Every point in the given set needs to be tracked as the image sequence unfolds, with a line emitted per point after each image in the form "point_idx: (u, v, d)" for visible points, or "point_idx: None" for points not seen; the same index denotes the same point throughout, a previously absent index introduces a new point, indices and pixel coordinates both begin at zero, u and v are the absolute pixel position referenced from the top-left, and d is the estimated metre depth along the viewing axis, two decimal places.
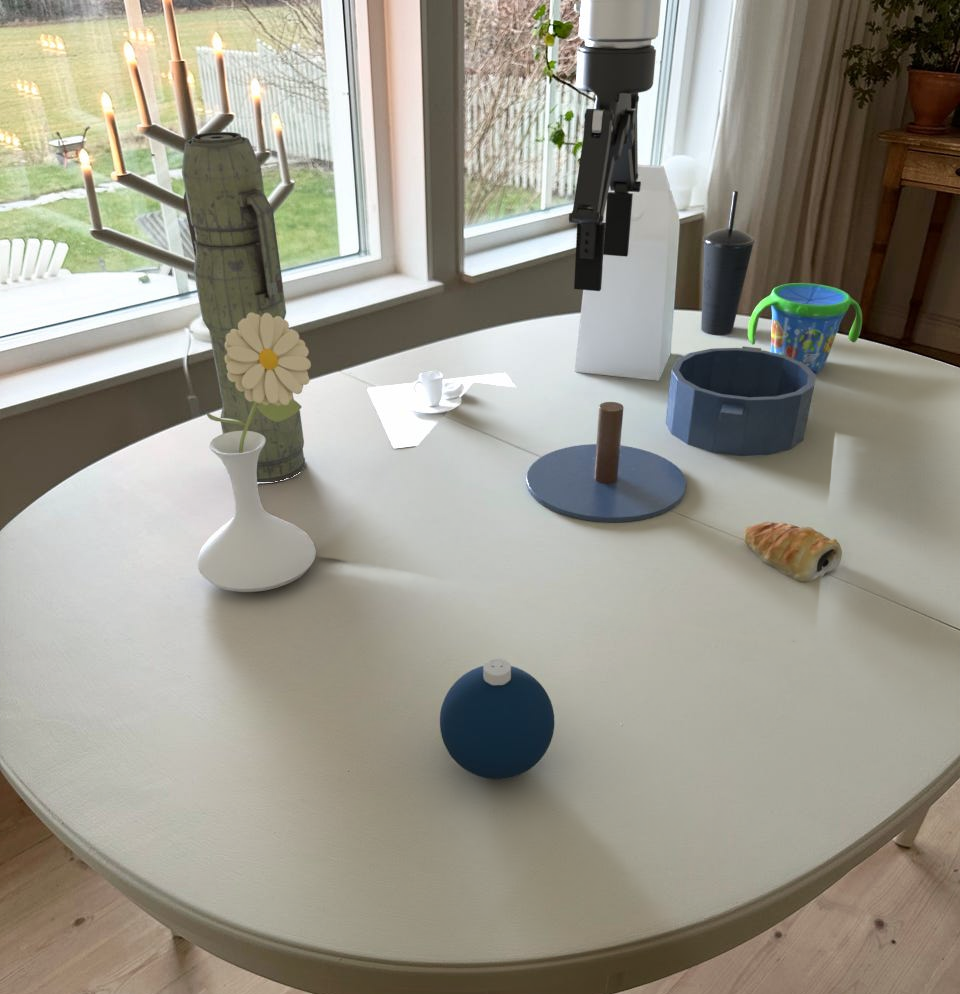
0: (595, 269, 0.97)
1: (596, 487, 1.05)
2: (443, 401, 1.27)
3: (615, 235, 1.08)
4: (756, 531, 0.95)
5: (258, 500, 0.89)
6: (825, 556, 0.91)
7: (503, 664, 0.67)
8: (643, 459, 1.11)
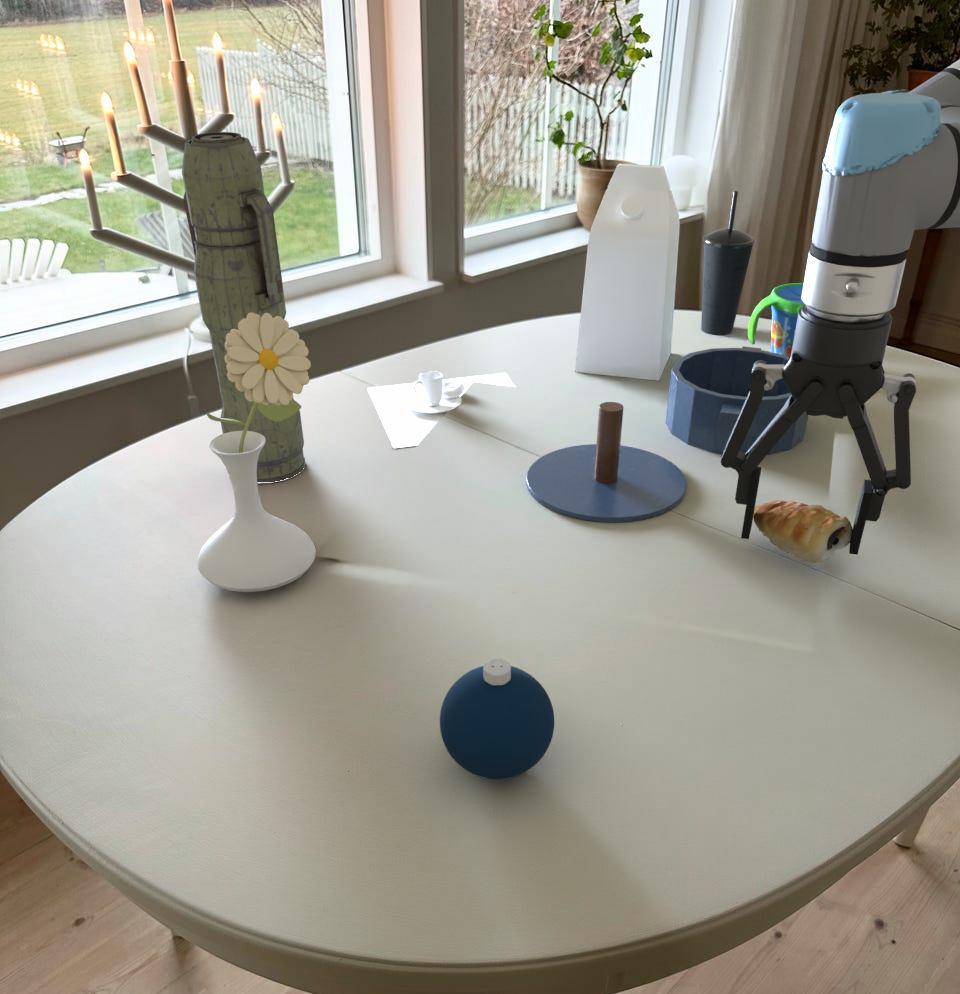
0: None
1: (596, 487, 1.05)
2: (443, 401, 1.27)
3: (753, 513, 0.93)
4: (765, 510, 0.93)
5: (258, 500, 0.89)
6: (835, 534, 0.89)
7: (503, 664, 0.67)
8: (643, 459, 1.11)
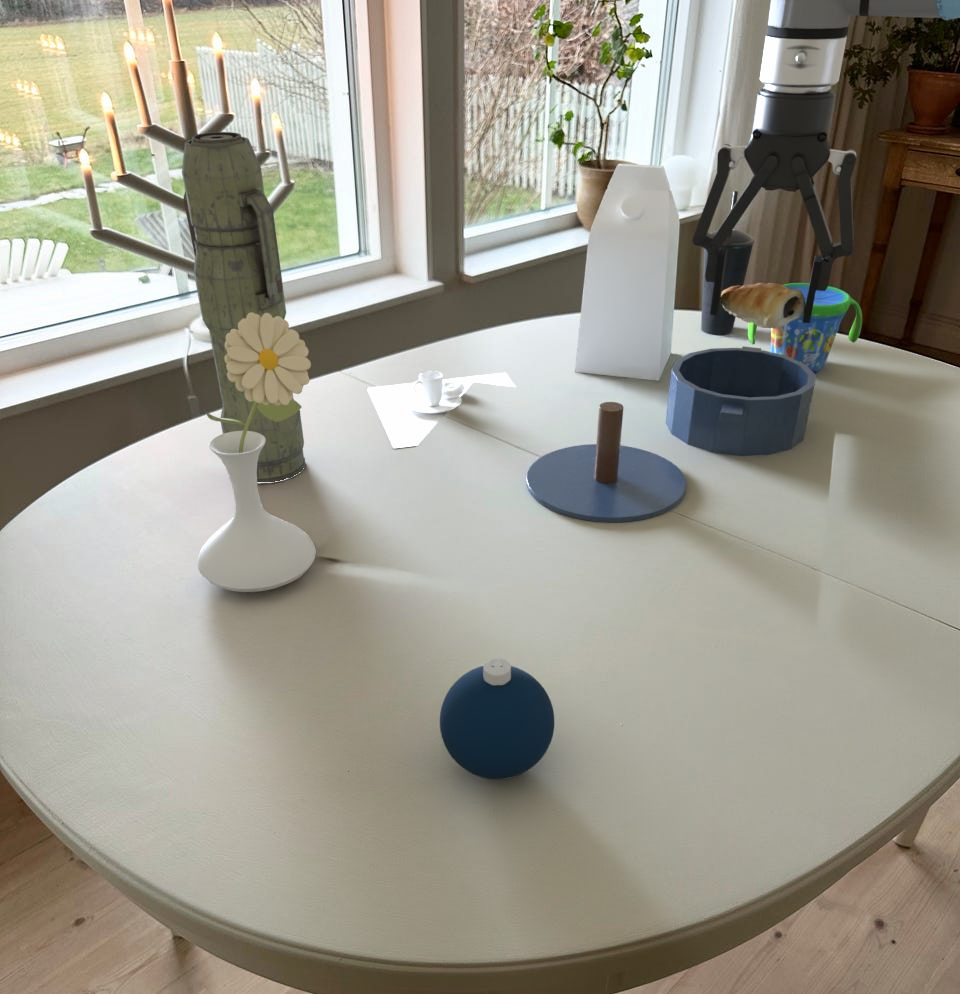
0: None
1: (596, 487, 1.05)
2: (443, 401, 1.27)
3: (720, 292, 1.07)
4: (730, 290, 1.08)
5: (258, 500, 0.89)
6: (790, 302, 1.04)
7: (503, 664, 0.67)
8: (643, 459, 1.11)
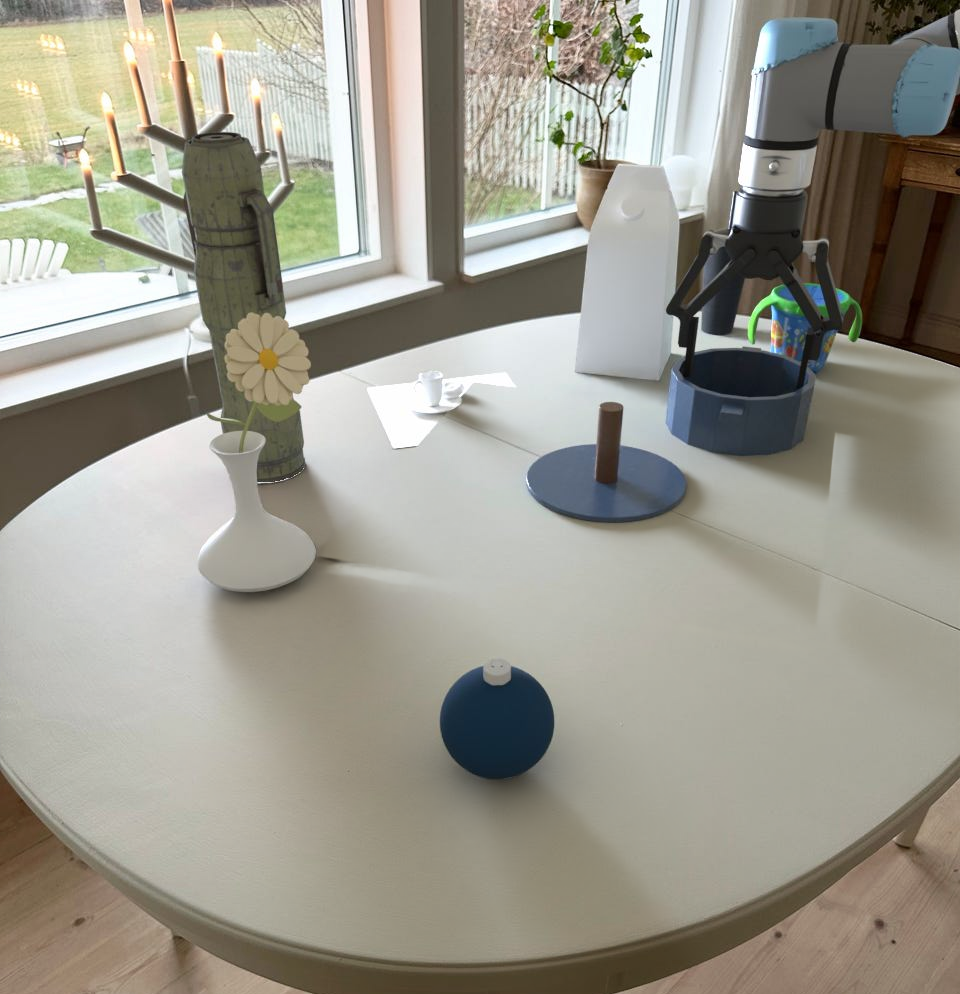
0: None
1: (596, 487, 1.05)
2: (443, 401, 1.27)
3: (692, 356, 1.16)
4: None
5: (258, 500, 0.89)
6: None
7: (503, 664, 0.67)
8: (643, 459, 1.11)
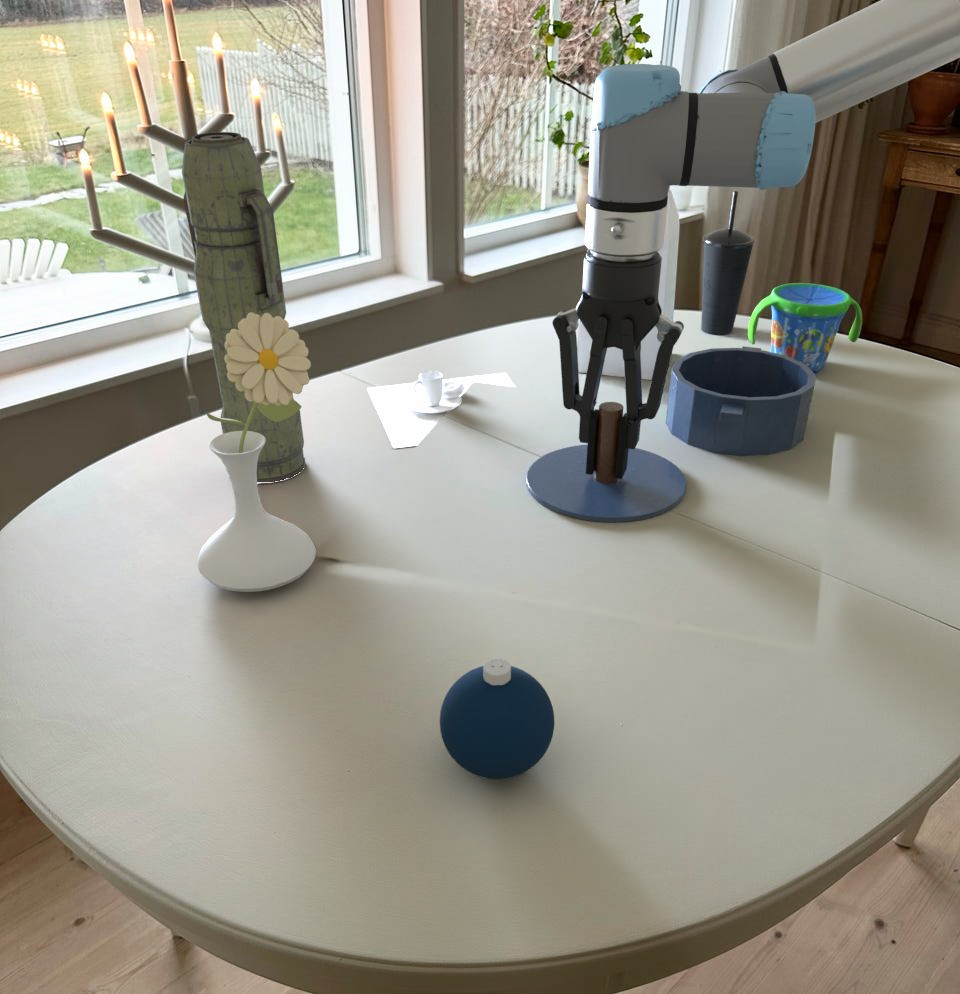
0: (627, 453, 1.05)
1: (596, 487, 1.05)
2: (443, 401, 1.27)
3: None
4: None
5: (258, 500, 0.89)
6: None
7: (503, 664, 0.67)
8: (643, 459, 1.11)
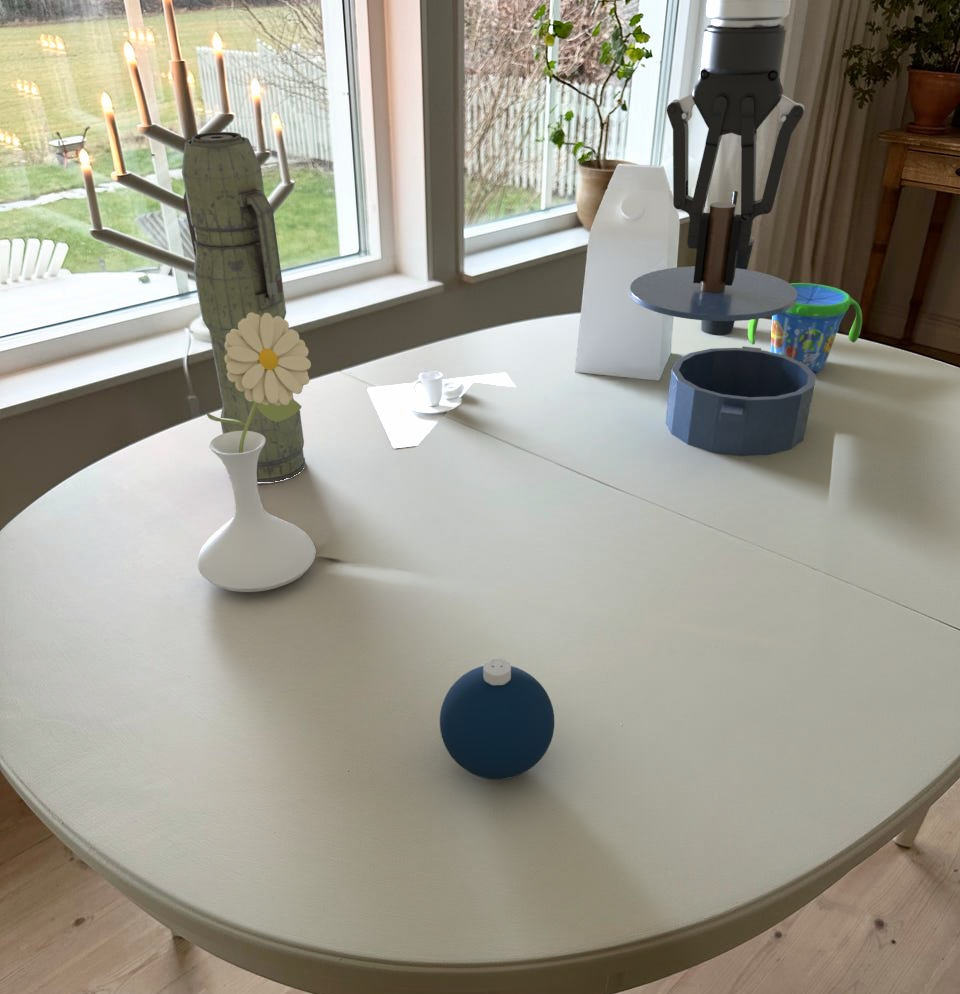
0: (736, 259, 1.02)
1: (705, 295, 1.02)
2: (443, 401, 1.27)
3: None
4: None
5: (258, 500, 0.89)
6: None
7: (503, 664, 0.67)
8: (747, 275, 1.07)
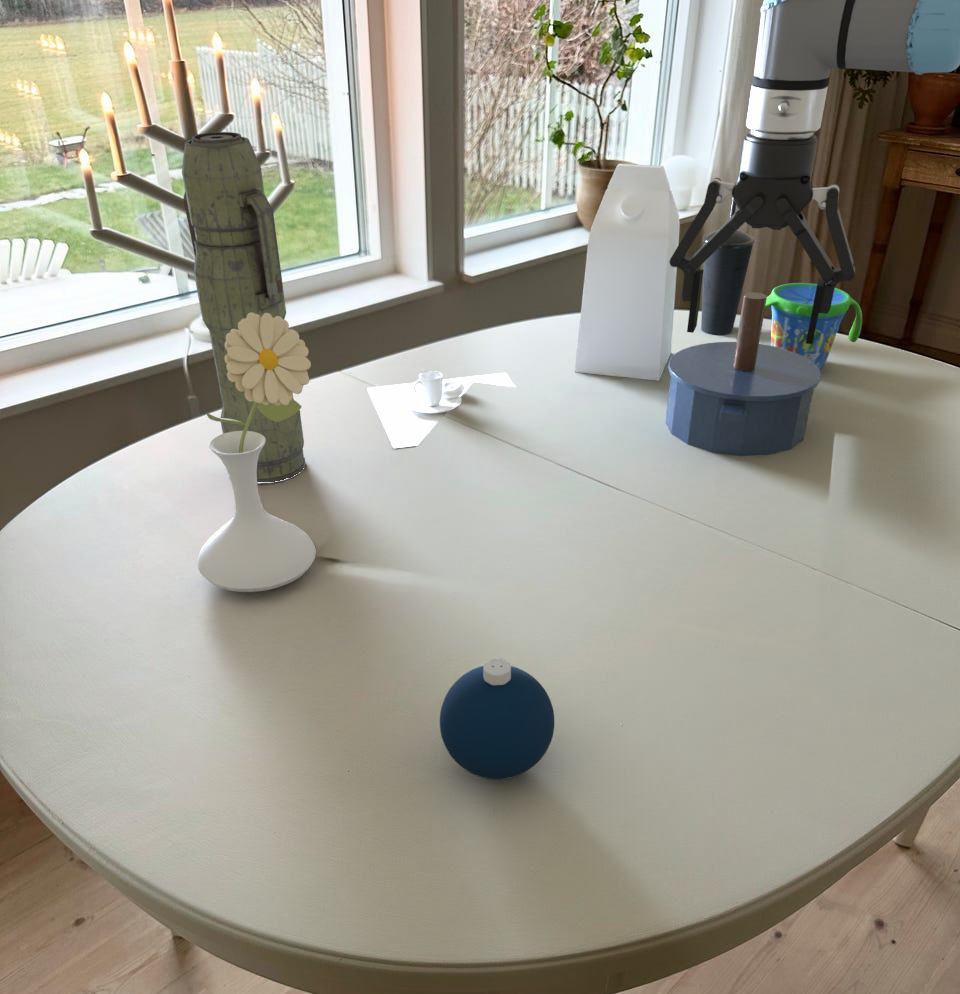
0: None
1: (737, 374, 1.13)
2: (443, 401, 1.27)
3: (697, 310, 1.13)
4: None
5: (258, 500, 0.89)
6: None
7: (503, 664, 0.67)
8: (774, 353, 1.19)
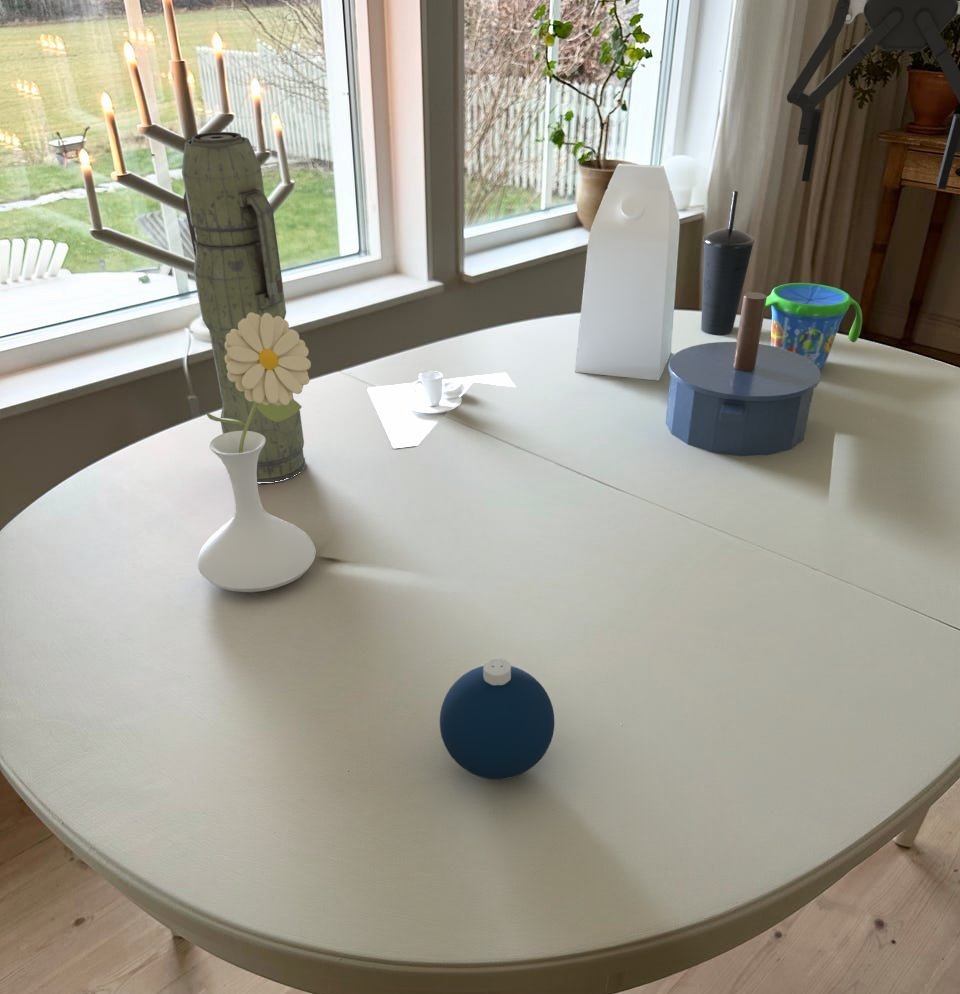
0: None
1: (737, 374, 1.13)
2: (443, 401, 1.27)
3: (813, 156, 1.02)
4: None
5: (258, 500, 0.89)
6: None
7: (503, 664, 0.67)
8: (774, 353, 1.19)
